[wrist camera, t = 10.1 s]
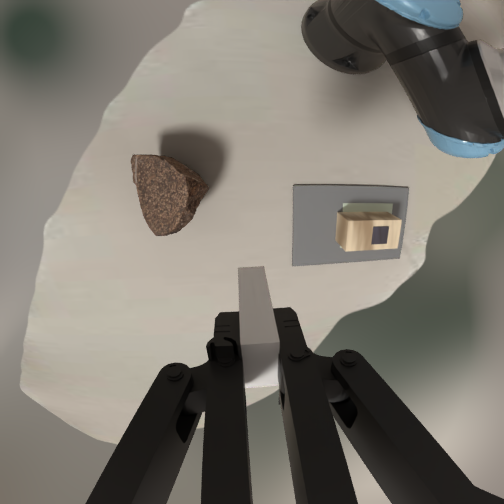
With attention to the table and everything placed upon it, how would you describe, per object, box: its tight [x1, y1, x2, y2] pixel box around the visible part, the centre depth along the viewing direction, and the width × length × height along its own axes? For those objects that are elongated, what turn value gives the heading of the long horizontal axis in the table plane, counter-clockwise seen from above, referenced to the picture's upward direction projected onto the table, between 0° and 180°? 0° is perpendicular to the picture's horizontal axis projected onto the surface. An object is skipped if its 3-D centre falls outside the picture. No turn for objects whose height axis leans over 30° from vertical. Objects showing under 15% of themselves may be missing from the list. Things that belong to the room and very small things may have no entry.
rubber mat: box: [292, 185, 409, 266], centre depth 45 cm, size 22×14×1 cm, turn 92°
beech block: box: [335, 212, 402, 252], centre depth 43 cm, size 5×5×10 cm
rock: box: [131, 155, 209, 236], centre depth 36 cm, size 12×10×10 cm
